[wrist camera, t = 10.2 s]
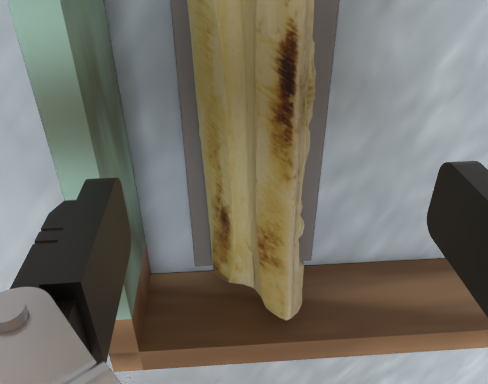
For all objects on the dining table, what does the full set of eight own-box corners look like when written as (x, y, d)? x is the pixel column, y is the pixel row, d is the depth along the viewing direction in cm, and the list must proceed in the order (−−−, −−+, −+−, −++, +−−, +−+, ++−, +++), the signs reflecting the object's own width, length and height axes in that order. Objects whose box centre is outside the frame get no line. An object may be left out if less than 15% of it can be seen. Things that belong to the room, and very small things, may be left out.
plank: (142, -310, 13) (111, -410, 9) (313, -318, 13) (362, -421, 9) (213, 265, 26) (214, 334, 22) (298, 258, 26) (315, 325, 22)
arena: (451, 274, 28) (497, 346, 24) (129, 292, 27) (114, 371, 23) (633, -230, 15) (822, -288, 10) (14, -237, 14) (-82, -306, 9)
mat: (310, 256, 26) (311, 260, 26) (195, 262, 26) (195, 266, 26) (373, -335, 13) (376, -340, 13) (139, -341, 13) (138, -346, 12)
